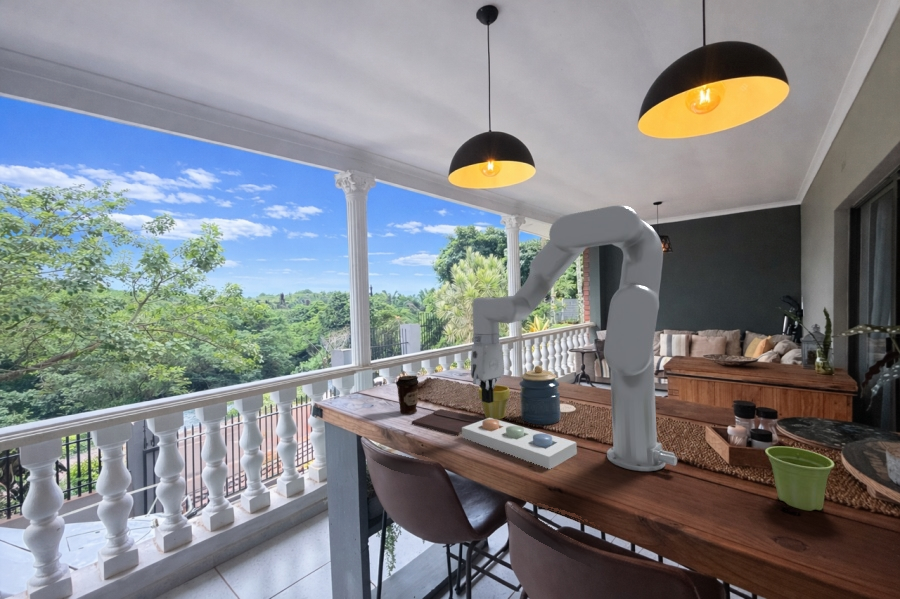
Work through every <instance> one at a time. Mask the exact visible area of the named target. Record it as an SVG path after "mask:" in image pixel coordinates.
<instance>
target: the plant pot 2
mask: <svg viewBox="0 0 900 599" xmlns="http://www.w3.org/2000/svg"><path fill="white" fill-rule="evenodd" d="M764 451H765V455H766V456H768V460H769V462H770V464H771V468H772V473H773V477H774V478H773V479H774V484H775V488H776V492H777V498H778V499H779V500H780V501H783V502H784V503H786V504H787V505H788V506H790V507H793V508H796V509H799V510H802V511H814V510H817V511H822V509H823V507H824V503H825V494H826V489H827V488H826V487H827V482H828V477H829V475H830V474H831V470H833V469H834V467H835V462H834V461H833V460H832V459H830V458H829V457H827V456H825V455H823V454H820V453H819V452H818V453H817V452H814V451H812V450H808V449H804V448H799V447H792V446H782V445H781V446H777V445H776V446H770V447H767V448H766V449H765V450H764Z"/></svg>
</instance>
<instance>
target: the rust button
mask: <svg viewBox="0 0 900 599" xmlns="http://www.w3.org/2000/svg"><path fill="white" fill-rule="evenodd" d="M486 419H487V418H486ZM498 420H499V419H496V420H495V419H487V420H484V421H482V425H483V429H485V430H488V431H491V432H492V431H494V430H497V429H499V421H498Z"/></svg>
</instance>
